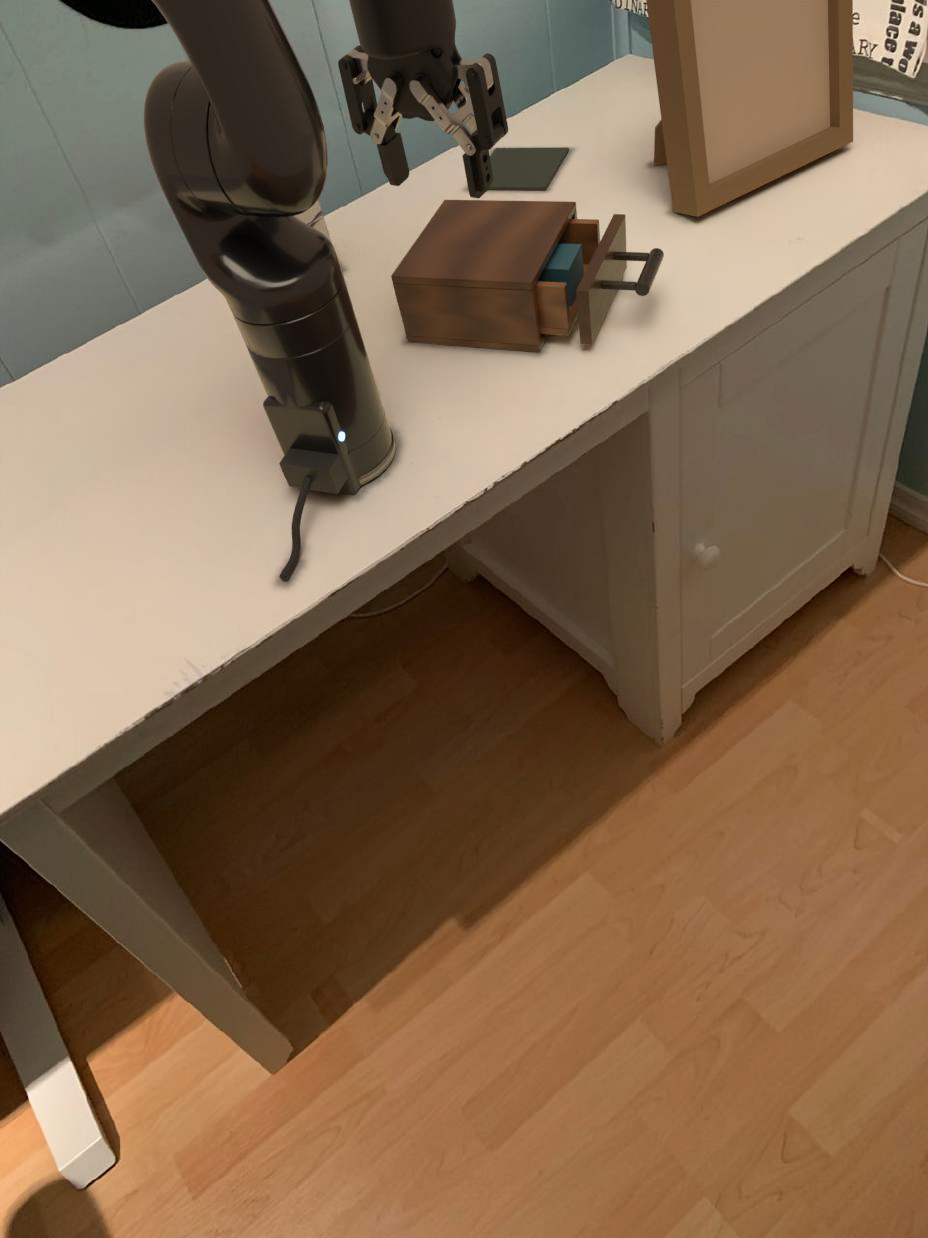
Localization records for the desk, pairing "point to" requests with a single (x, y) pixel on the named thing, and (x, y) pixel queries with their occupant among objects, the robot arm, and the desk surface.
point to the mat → (525, 167)
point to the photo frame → (748, 92)
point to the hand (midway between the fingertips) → (439, 187)
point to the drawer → (593, 279)
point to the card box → (565, 268)
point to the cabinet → (480, 273)
